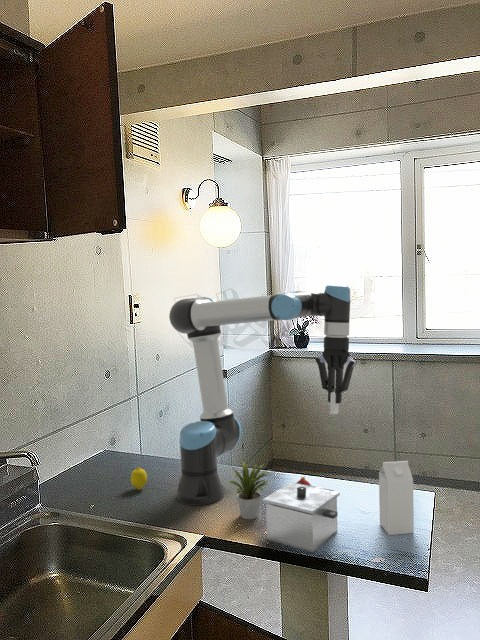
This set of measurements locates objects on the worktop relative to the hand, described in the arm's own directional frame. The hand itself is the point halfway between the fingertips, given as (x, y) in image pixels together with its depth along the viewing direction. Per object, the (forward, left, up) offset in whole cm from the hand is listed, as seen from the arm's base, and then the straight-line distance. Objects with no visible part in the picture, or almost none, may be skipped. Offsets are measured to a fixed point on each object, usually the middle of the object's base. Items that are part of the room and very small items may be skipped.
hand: (334, 413), depth 171 cm
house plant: (-17, -22, -29) cm, 40 cm away
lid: (+2, -24, -18) cm, 30 cm away
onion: (-9, -4, -29) cm, 30 cm away
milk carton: (+22, -7, -29) cm, 37 cm away
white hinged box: (+2, -24, -28) cm, 37 cm away
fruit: (-62, -23, -29) cm, 72 cm away
